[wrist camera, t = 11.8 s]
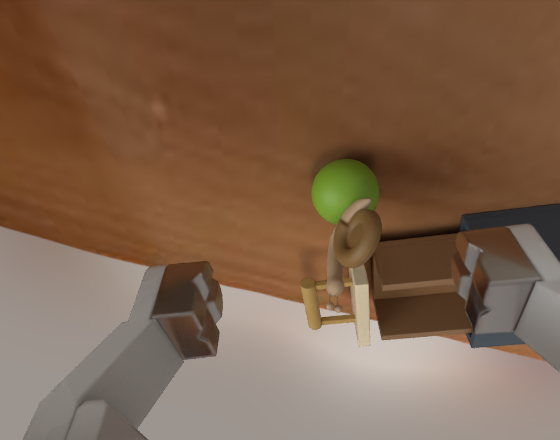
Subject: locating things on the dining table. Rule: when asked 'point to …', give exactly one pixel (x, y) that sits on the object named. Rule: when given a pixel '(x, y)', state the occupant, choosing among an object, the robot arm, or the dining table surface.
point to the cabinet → (545, 219)
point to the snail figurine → (347, 218)
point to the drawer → (400, 292)
